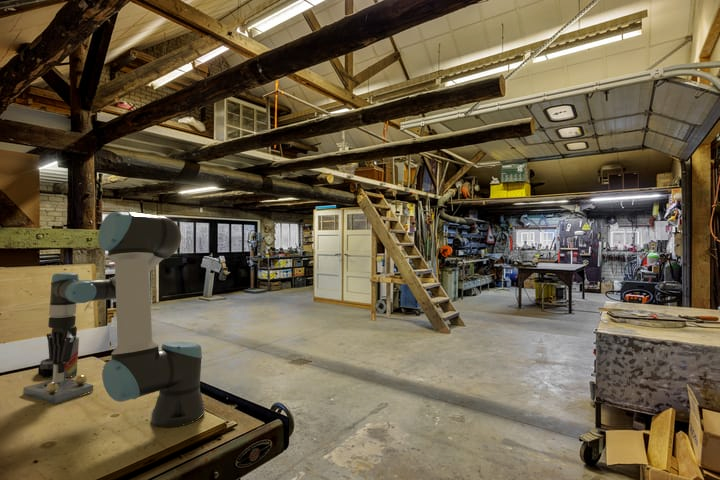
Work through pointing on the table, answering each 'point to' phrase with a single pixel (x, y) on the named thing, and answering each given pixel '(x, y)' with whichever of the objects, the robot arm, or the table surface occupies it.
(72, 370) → the lotion bottle
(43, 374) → the cpu cooler
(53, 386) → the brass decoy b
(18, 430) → the table surface
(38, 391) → the bearing plate
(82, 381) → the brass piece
